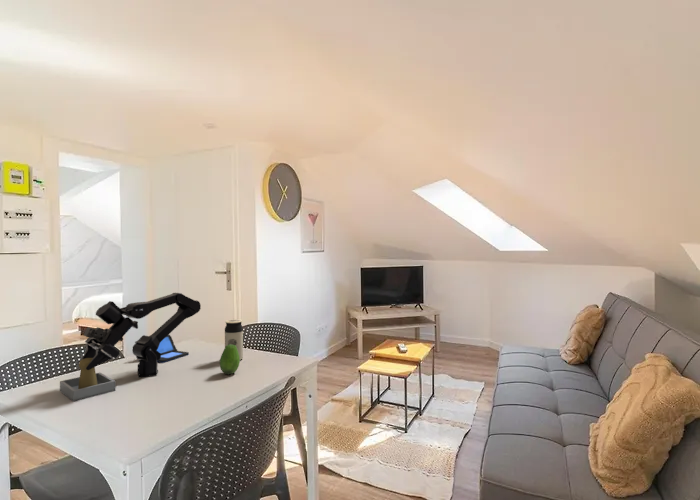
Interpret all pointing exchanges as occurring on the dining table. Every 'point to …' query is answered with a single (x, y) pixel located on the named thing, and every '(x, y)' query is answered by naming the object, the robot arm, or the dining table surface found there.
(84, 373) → the cork
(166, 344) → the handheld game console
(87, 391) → the tray
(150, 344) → the robot arm
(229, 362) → the avocado
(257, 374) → the dining table surface
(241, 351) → the travel mug
